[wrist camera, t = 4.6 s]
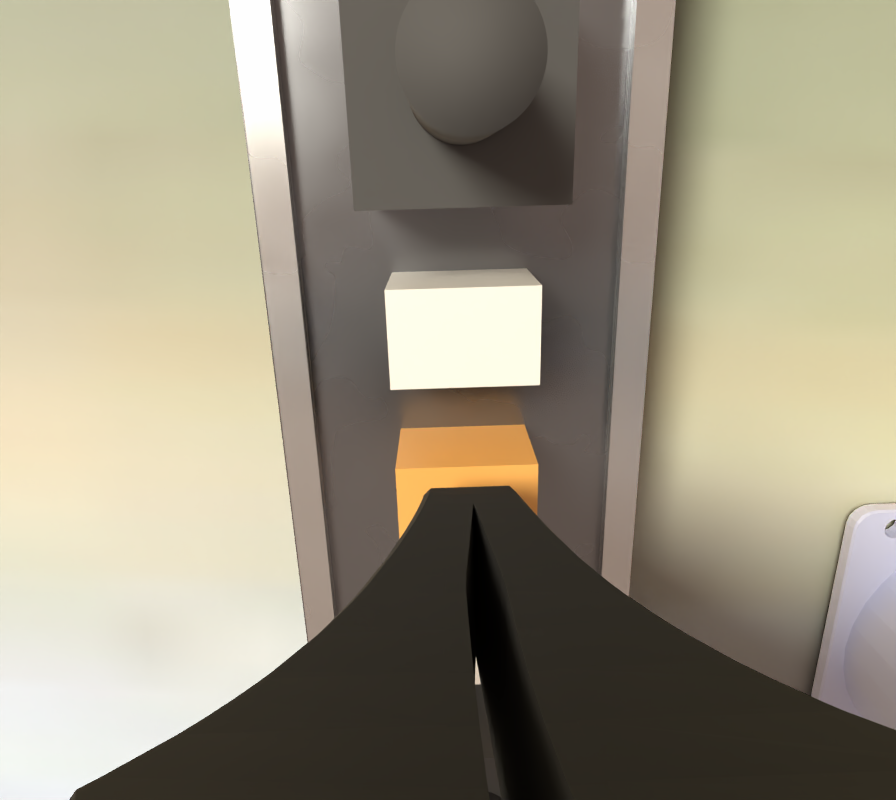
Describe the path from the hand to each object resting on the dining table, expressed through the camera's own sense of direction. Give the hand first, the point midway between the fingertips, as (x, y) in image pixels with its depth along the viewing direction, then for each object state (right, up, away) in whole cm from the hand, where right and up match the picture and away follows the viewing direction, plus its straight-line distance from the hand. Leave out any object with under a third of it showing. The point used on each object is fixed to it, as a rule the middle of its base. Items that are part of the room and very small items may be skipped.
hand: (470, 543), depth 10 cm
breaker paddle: (0, +4, +2) cm, 4 cm away
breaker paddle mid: (0, +1, +3) cm, 3 cm away
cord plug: (0, +7, +1) cm, 7 cm away
